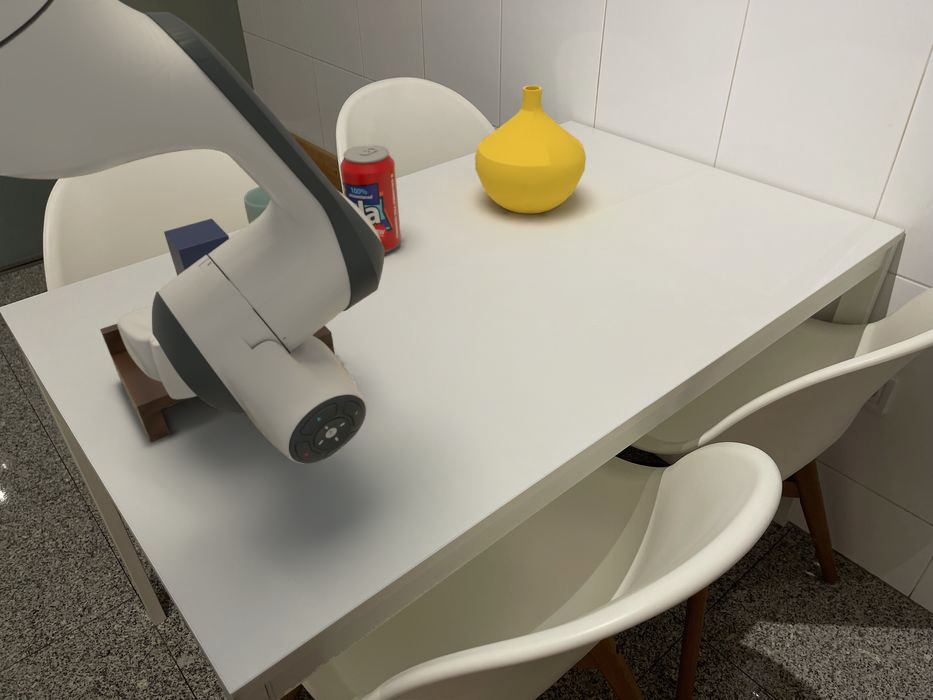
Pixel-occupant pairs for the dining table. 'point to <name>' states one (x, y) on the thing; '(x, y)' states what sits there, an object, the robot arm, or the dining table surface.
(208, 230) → the navy block
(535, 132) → the vase
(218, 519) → the dining table surface
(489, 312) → the dining table surface
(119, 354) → the wooden divided tray
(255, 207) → the cup
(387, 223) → the soda can
